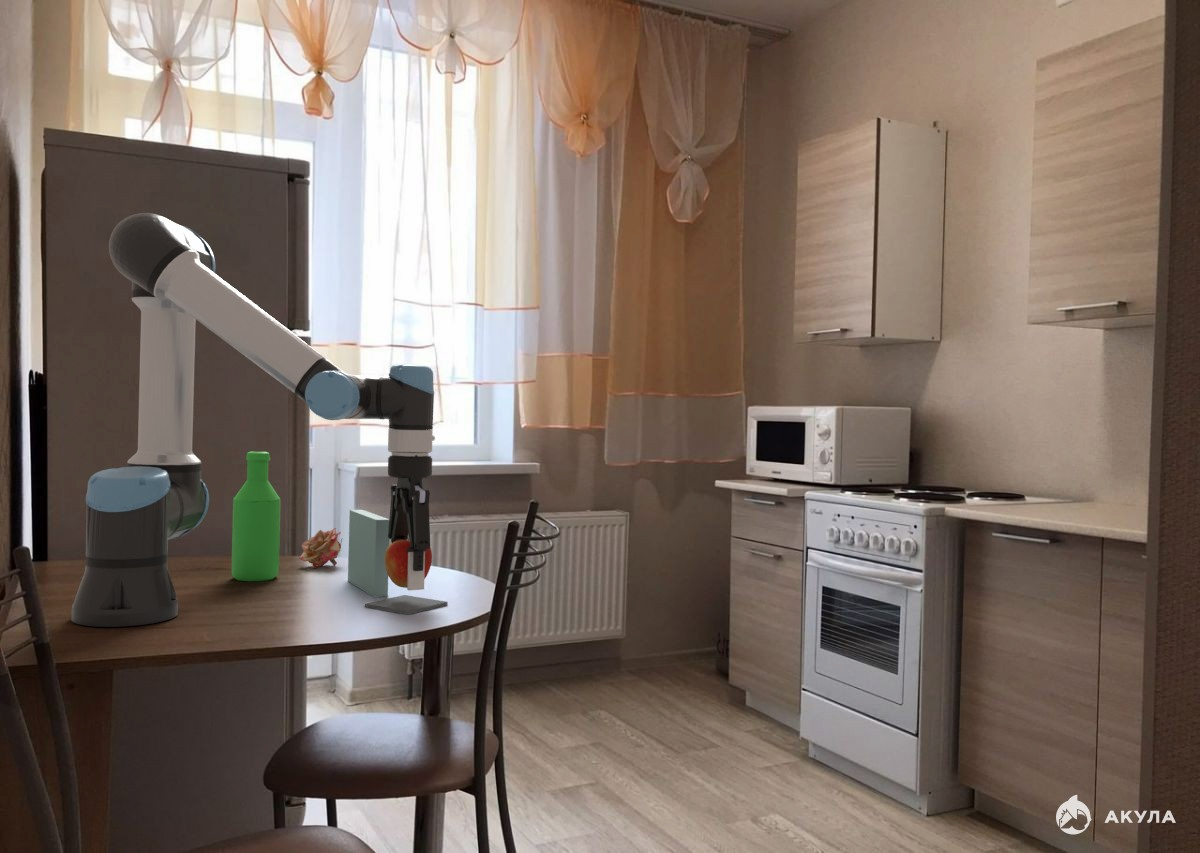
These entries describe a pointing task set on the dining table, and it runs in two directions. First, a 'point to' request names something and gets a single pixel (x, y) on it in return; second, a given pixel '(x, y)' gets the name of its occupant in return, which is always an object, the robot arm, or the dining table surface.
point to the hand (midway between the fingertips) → (407, 585)
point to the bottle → (256, 524)
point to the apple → (402, 562)
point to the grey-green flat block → (368, 552)
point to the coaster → (406, 604)
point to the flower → (321, 548)
